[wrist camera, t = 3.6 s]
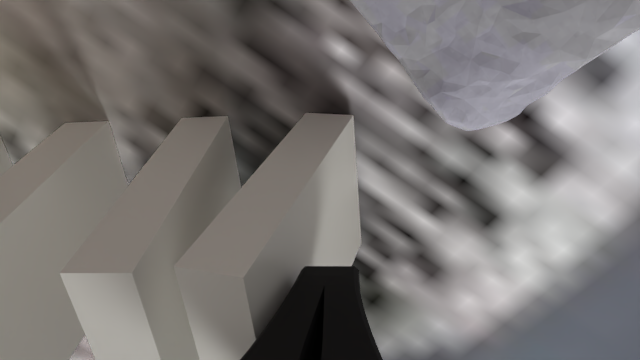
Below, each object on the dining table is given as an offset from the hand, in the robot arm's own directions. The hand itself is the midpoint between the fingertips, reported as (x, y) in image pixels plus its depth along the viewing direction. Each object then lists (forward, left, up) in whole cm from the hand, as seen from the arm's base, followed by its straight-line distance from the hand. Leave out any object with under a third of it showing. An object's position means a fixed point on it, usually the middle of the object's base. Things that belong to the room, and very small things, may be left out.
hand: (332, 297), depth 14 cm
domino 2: (0, +5, -6) cm, 7 cm away
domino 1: (0, +9, -6) cm, 11 cm away
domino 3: (0, 0, -6) cm, 6 cm away
